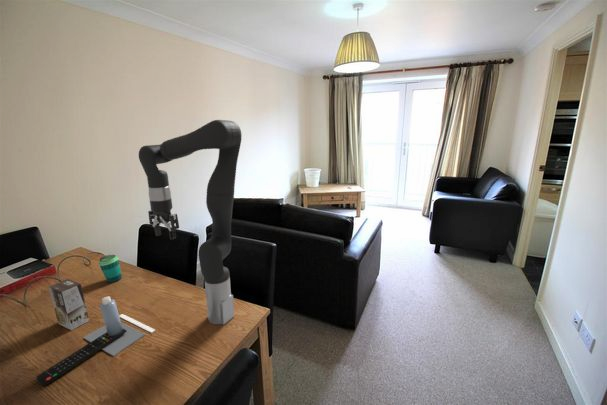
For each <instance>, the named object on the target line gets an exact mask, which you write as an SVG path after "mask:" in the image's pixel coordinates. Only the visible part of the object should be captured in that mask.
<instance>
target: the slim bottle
mask: <svg viewBox="0 0 607 405" xmlns="http://www.w3.org/2000/svg"><path fill="white" fill-rule="evenodd" d="M101 301H102V302H101V303H100V304H99V309H100V311H101V315H102V319H103V322H104V325H105V326H106V329H107V333H108V335H109V336H115V335H118V334H119V333H121V332H122V330H123V328H122V325H121V318H120V317H119V315H120V314H119V311H118V307H117V303H116V300H115V299H113V298H112V299H111V296H105V297H102V299H101Z"/></svg>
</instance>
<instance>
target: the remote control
mask: <svg viewBox="0 0 607 405" xmlns="http://www.w3.org/2000/svg"><path fill="white" fill-rule="evenodd" d="M125 332H126V330H125V329H123V330H122V332H121V333H119V334H118V335H115V336H109V335H108V333H107V332H106V333H105V334H103V335H101V336H100V337H98V338H97V339H95V340H93V341H92V342H89V343H87V344H85V345H84V346H83V347H80V348H79V349H77V350H76V351H74V352H73V353H71V354H69V355H68V356H67V357H65V358H63V359H62V360H60V361H58V362H57V363H55V364H53V365H52V366H51V367H49V368H48V369H46V370H44V371H43V372H41V373H39V374H38V375H36V379H37V382H38V384H39V385H40V386H44V387H45V386H48V385H49V384H51V383H52V382H53V381H55V380H56V379H58V378H59V377H61V376H62V375H64V374H65V373H67V372H68V371H70V370H72V369H73V368H74V367H76V366H78V365H79V364H81V363H82V362H83V361H85V360H86V359H88V358H89V357H90V356H92V355H94V354H95V353H97V352H98V351H101V350H102V349H101V348H103V347H104V346H106V345H107V344H109V343H110V342H112V341H113V340H115V339H116V338H118V337H119V336H121V335H122V334H124V333H125Z"/></svg>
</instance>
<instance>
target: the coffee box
mask: <svg viewBox="0 0 607 405" xmlns="http://www.w3.org/2000/svg"><path fill="white" fill-rule="evenodd" d="M48 291H49V294H50V298H51V301H52V305H53V309H54V312H55V316H56V319H57V323H58V324H59V325H60V326H61V327H62V326H63V327H64V328H66V329H68V330H69V331H73V330H75V329H77V328H78V327H80V326H82V325H84V324H85V323H87V322H89V321H90V319H89V315H88V309H87V306H86V301H85V297H84V296H85V295H84V292H83V288H82V284H81V283H80V282H77V281H75V280H73V279H69V278H66V279H63V280H61V281H59V282H56V283H55V284H53V285H50V286H48ZM58 324H57V325H58Z"/></svg>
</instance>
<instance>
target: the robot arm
mask: <svg viewBox="0 0 607 405" xmlns="http://www.w3.org/2000/svg"><path fill="white" fill-rule="evenodd" d="M241 143H242V131H241V126H239V124H238V123H237V122H235V121H234V120H233V121H232V120H225V119H223V120H222V119H214V120H211V121H210V122H208V123H206V124H204V125H202V126H201V127H199V128H197V129H195V130H194V131H191V132H188V133H186V134H183V135H179V136H177V137H174V138H169V139H167V140H164V141H163V142H162V143H161V144H151V145H150V144H149V145H143V146H141V147H140V149H139V151H138V160H139V162H140V165H141V166H142V168H143V171H144V173H145V175H146V178H147V179H146V180H147V186H148V198H149V206H150V210H148V219H149V220H148V221H149V225H150V226H152V227H153V228H154V235H155V236H156V237H160V236H162V228H161V224H163V225H164V226H165V227H166V228H167V229H168V234H169V239H170V241H172V240H175V239H176V238H177V233H176V230H178V229H180V225H179V219H178V214H177V213H174V214H172V212H171V211H172V209H173V201H172V193H171V192H172V191H171V189H170V182H169V175H168V173H167V171H166V170H162V169H159V167H158V165H160V164H161V165H162V164H166V163H169V162H172V161H174V160H178V159H181V158H185V157H188V156H190V155H192V154H194V153H195V152H197V151H201V150H210V149H211V150H214V149H215V150H216V149H217V150H218V157H217V158H218V159H217V163H216V165H215V167H214V170H213V172H212V174H211V175H210V178H209V180H208V182H207V185H206V186H207V187H206V198H205V199H206V201H205V203H206V209H207V210H208V213H209V215H210V218H211V220H212V229H211V235H210V238H208V239H206V240H205V241H204V242H202V244H201V245H199V248H198V260H199V267H200V272H201V275H202V277H203V279H204V290H205V300H206V308H207V319H208V322H209V323H210V324H212V325H225V324H227V323H228V322H229V321H230V320H231V319H233V318H234V317H235V304H234V294H232V292H231V291H232V290H231V277H230V275H231V274H230V270H229V268H228V267H227V266H224V263H223V260H224V259H225V258H226V257H228V255H230V253H231V250H232V220H233V207H234V199H235V186H236V184H235V183H236V174H237V165H238V159H239V153H240V150H241V149H240V148H241Z"/></svg>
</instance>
